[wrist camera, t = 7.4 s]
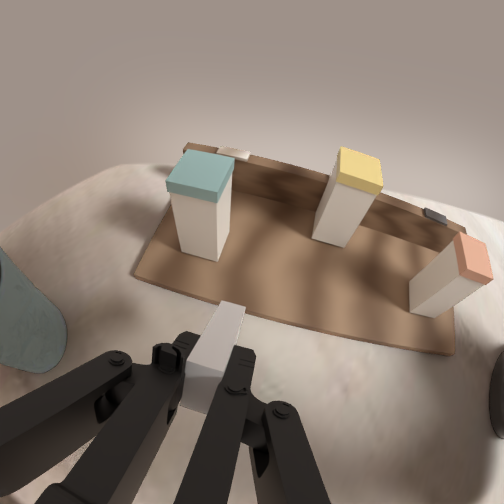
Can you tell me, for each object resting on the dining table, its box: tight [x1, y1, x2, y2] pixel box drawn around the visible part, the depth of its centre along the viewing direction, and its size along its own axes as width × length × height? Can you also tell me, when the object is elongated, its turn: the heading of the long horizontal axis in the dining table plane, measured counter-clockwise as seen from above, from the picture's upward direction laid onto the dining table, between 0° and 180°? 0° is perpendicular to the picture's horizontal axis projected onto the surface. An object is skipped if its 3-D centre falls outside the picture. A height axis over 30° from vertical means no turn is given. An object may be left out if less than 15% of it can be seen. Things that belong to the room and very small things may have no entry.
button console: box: [134, 143, 467, 356], centre depth 28 cm, size 38×16×6 cm, turn 75°
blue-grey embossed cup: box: [0, 247, 67, 373], centre depth 17 cm, size 10×10×12 cm
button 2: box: [166, 149, 235, 262], centre depth 25 cm, size 4×4×10 cm
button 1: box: [409, 231, 493, 318], centre depth 23 cm, size 4×4×10 cm
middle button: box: [312, 147, 383, 248], centre depth 27 cm, size 4×4×10 cm
